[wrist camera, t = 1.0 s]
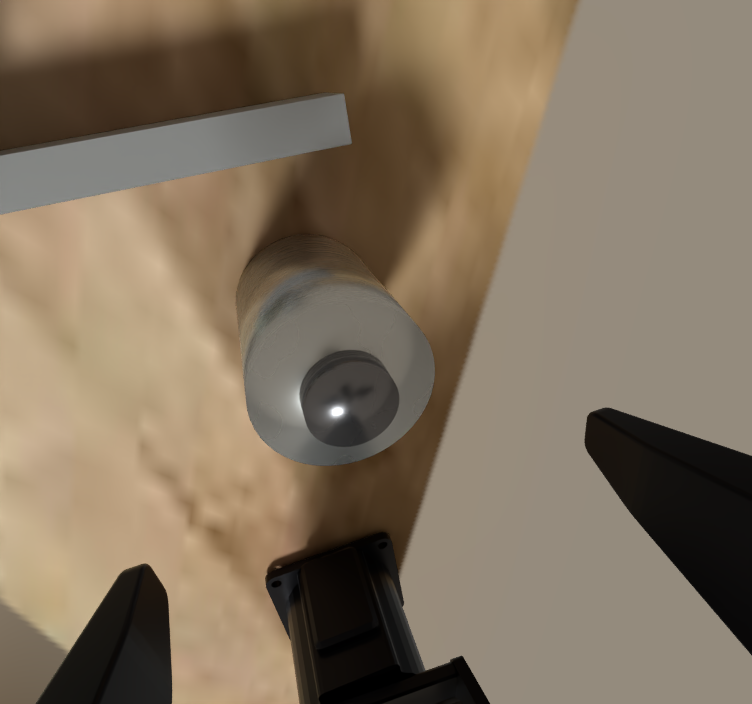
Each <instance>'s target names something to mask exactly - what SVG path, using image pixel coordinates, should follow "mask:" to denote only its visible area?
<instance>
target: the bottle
mask: <svg viewBox="0 0 752 704" xmlns="http://www.w3.org/2000/svg"><path fill="white" fill-rule="evenodd" d="M236 310H237V319H238V329H239V338H240V348H241V357H242V367H243V376H244V385H245V395H246V404H247V411H248V414H249V418H250V420H251V423H252V425H253V427H254V429H255V430H256V432H257V433H258V435H259V436H260V438H261V439H262V440H263V441H264V442H265V443H266V444H267V445H268V446H269V447H271V448H272V449H273V450H274V451H276V452H277V453H279V454H281V455H283V456H284V457H287V458H289V459H292V460H294V461H297V462H301V463H304V464H310V465H319V466H332V465H342V464H348V463H352V462H356V461H360V460H363V459H365V458H368V457H371V456H373V455H375V454H377V453H379V452H381V451H383V450H384V449H386V448H388V447H389V446H391V445H392V444H394V443H395V442H396V441H397V440H399V439H400V438H401V437H402V436H403V435H404V434H406V433H407V432H408V431H409V430H410V428H411V427H412V426H413V425H414V424H415V423H416V421H417V420H418V419H419V417H420V416H421V414H422V413H423V411H424V409H425V407H426V405H427V403H428V401H429V398H430V396H431V393H432V389H433V385H434V377H435V363H434V357H433V353H432V350H431V347H430V344H429V342H428V340H427V338H426V337H425V335H424V334H423V332H422V331H421V330H420V328H419V327H418V326H417V325H416V323H415V322H414V321H413V320H412V319H411V318H410V316H409V315H408V314H407V313H406V312H405V311H404V309H403V308H402V307H401V306H400V305H399V304H398V302H397V301H396V300H395V299H394V298H393V297H392V295H391V294H390V293H389V292H388V291H387V290H386V288H385V287H384V286H383V285H382V284H381V283H380V281H379V280H378V279H377V278H376V277H375V276H374V274H373V273H372V272H371V271H370V270H369V269H368V268H367V266H366V265H365V264H364V263H363V262H362V261H361V259H360V258H359V257H358V256H357V255H356V254H355V253H354V252H353V251H352V250H351V249H349V248H348V247H347V246H345V245H344V244H342V243H340V242H338V241H336V240H334V239H331V238H328V237H324V236H320V235H311V234H308V235H296V236H290V237H287V238H284V239H281V240H278V241H276V242H274V243H272V244H270V245H269V246H267V247H266V248H264V249H263V250H262V251H260V252H259V253H258V254H257V255H256V256H255V257H254V258H253V259H252V260H251V261H250V263H249V264H248V265H247V267H246V268H245V270H244V272H243V274H242V276H241V278H240V281H239V284H238V288H237V293H236Z"/></svg>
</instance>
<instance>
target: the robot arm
mask: <svg viewBox="0 0 752 704" xmlns="http://www.w3.org/2000/svg"><path fill="white" fill-rule="evenodd" d="M585 447H586V449H587V452H588V453H589V455H590V456H591V458H592V459H593V460H594V462H595V463H596V465H597V466H598V468H599V469H600V471H601V472H602V473H603V475H604V476H605V478H606V479H607V480H608V482H609V483H610V485H611V486H612V488H613V489H614V491H615V492H616V493H617V495H618V496H619V498H620V499H621V501H622V502H623V503H624V505H625V506H626V507H627V509H628V510H629V512H630V513H631V514H632V515H633V517H634V518H635V519H636V520H637V521H638V522H639V524H640V525H641V526H642V527H643V528H644V530H645V531H646V532H647V533H648V534H649V536H650V537H651V538H652V539H653V540H654V541H655V543H656V544H657V545H658V546H659V547H660V548H661V550H662V551H663V552H664V553H665V554H666V555H667V557H668V558H669V559H670V560H671V561H672V562H673V564H674V565H675V566H676V567H677V568H678V570H679V571H680V572H681V573H682V574H683V575H684V577H685V578H686V579H687V580H688V581H689V582H690V584H691V585H692V586H693V587H694V588H695V589H696V591H697V592H698V593H699V594H700V595H701V596H702V598H703V599H704V600H705V601H706V602H707V604H708V605H709V606H710V607H711V608H712V609H713V611H714V612H715V613H716V614H717V615H718V616H719V617H720V619H721V620H722V621H723V622H724V623H725V625H726V626H727V627H728V628H729V629H730V630H731V631H732V633H733V634H734V635H735V636H736V637H737V639H738V640H739V641H740V642H741V643H742V645H743V646H744V647H745V648H746V649H747V650H748V651H749V653H750V654H751V655H752V456H750V455H747V454H745V453H741V452H738V451H736V450H733V449H730V448H727V447H724V446H721V445H718V444H715V443H712V442H709V441H706V440H703V439H700V438H697V437H694V436H691V435H689V434H685V433H683V432H680V431H677V430H673V429H671V428H668V427H665V426H662V425H659V424H656V423H653V422H650V421H647V420H644V419H641V418H638V417H635V416H632V415H629V414H627V413H624V412H620V411H618V410H614V409H612V408H602V409H599V410H596V411H593V412H591V413H590V414H589V415H588V417H587V423H586V432H585ZM265 580H266V588H267V590H268V593H269V595H270V597H271V599H272V601H273V603H274V606H275V608H276V610H277V612H278V614H279V617H280V619H281V621H282V623H283V625H284V628H285V630H286V632H287V634H288V636H289V639H290V641H291V646H292V653H293V660H294V667H295V674H296V681H297V689H298V696H299V703H300V704H490V703H489V701H488V699H487V698H486V696H485V694H484V692H483V691H482V689H481V687H480V685H479V684H478V682H477V680H476V678H475V677H474V675H473V673H472V672H471V670H470V668H469V666H468V665H467V663H466V661H465V660H464V658H463V656H459V657H456V658H453V659H451V660H450V662H449V663H446V664H444V665H441V666H438V667H435V668H432V669H429V670H426V671H425V668H424V665H423V662H422V660H421V657H420V654H419V651H418V649H417V646H416V643H415V640H414V638H413V635H412V633H411V629H410V627H409V624H408V621H407V618H406V616H405V613H404V610H403V608H402V607H403V605H404V601H403V596H402V591H401V586H400V580H399V575H398V570H397V565H396V560H395V555H394V550H393V545H392V541H391V539H390V536H389V534H388V533H386V532H381V533H378V534H375V535H372V536H369V537H366V538H364V539H361V540H358V541H355V542H352V543H350V544H347V545H344V546H341V547H338V548H336V549H333V550H330V551H327V552H324V553H322V554H319V555H316V556H313V557H310V558H308V559H305V560H302V561H299V562H296V563H294V564H291V565H288V566H285V567H282V568H280V569H277V570H274V571H272V572H270V573H268V574H267V575H266V577H265ZM36 704H172V669H171V648H170V627H169V606H168V597H167V593H166V590H165V588H164V586H163V585H162V583H161V582H160V580H159V579H158V577H157V576H156V574H155V572H154V571H153V569H152V568H151V567H150V565H148V564H141V565H138V566H135V567H132V568H129V569H126V570H124V571H123V572H122V573H121V574H120V575H119V576H118V578H117V579H116V581H115V582H114V584H113V585H112V587H111V588H110V590H109V591H108V593H107V595H106V596H105V598H104V599H103V601H102V602H101V604H100V605H99V607H98V608H97V610H96V611H95V613H94V615H93V616H92V618H91V619H90V621H89V622H88V624H87V625H86V627H85V628H84V630H83V631H82V633H81V635H80V636H79V638H78V639H77V641H76V642H75V644H74V645H73V647H72V648H71V650H70V652H69V653H68V655H67V656H66V658H65V659H64V661H63V662H62V664H61V666H60V667H59V669H58V670H57V672H56V673H55V675H54V676H53V678H52V679H51V681H50V682H49V684H48V685H47V687H46V688H45V690H44V692H43V693H42V695H41V696H40V698H39V699H38V701H37V702H36Z"/></svg>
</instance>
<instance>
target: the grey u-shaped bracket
mask: <svg viewBox="0 0 752 704" xmlns="http://www.w3.org/2000/svg"><path fill="white" fill-rule="evenodd" d="M348 144H352V141H351V135H350V129H349V122H348V116H347V110H346V103H345V97H344V94H343V93H320V94H314V95H308V96H303V97H297V98H292V99H286V100H281V101H275V102H269V103H264V104H258V105H253V106H247V107H241V108H236V109H230V110H225V111H219V112H214V113H208V114H202V115H197V116H191V117H186V118H180V119H175V120H169V121H163V122H158V123H152V124H147V125H141V126H136V127H130V128H124V129H119V130H113V131H108V132H102V133H96V134H91V135H85V136H80V137H74V138H69V139H63V140H57V141H52V142H46V143H41V144H35V145H30V146H24V147H18V148H13V149H7V150H2V151H0V214H5V213H10V212H15V211H20V210H25V209H30V208H35V207H40V206H45V205H50V204H55V203H60V202H65V201H70V200H75V199H80V198H85V197H90V196H95V195H100V194H105V193H110V192H115V191H120V190H125V189H130V188H135V187H140V186H145V185H149V184H154V183H159V182H164V181H169V180H174V179H179V178H184V177H189V176H194V175H199V174H204V173H209V172H214V171H219V170H224V169H229V168H234V167H239V166H244V165H249V164H254V163H259V162H264V161H269V160H274V159H279V158H284V157H289V156H294V155H299V154H304V153H308V152H313V151H318V150H323V149H328V148H333V147H338V146H343V145H348Z"/></svg>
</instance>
